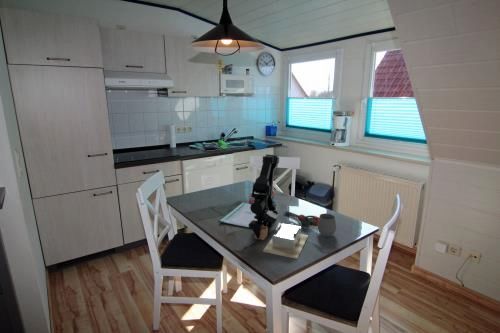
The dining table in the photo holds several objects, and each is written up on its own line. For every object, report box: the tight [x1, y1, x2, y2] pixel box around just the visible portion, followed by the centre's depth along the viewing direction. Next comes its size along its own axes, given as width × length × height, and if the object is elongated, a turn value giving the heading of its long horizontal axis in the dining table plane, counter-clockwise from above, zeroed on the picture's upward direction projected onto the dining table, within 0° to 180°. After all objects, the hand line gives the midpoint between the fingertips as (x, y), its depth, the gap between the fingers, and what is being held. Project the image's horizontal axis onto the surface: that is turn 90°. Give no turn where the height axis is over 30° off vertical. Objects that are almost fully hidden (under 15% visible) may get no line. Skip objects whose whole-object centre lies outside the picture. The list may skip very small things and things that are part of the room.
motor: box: [271, 222, 302, 251], centre depth 143 cm, size 17×10×8 cm, turn 157°
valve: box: [283, 210, 320, 229], centre depth 169 cm, size 6×26×15 cm
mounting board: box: [262, 233, 309, 260], centre depth 143 cm, size 22×16×1 cm
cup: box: [316, 213, 337, 238], centre depth 150 cm, size 10×9×10 cm
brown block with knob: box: [254, 225, 269, 241], centre depth 149 cm, size 5×5×7 cm
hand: (261, 234), depth 150 cm, fingers open, 8 cm apart
